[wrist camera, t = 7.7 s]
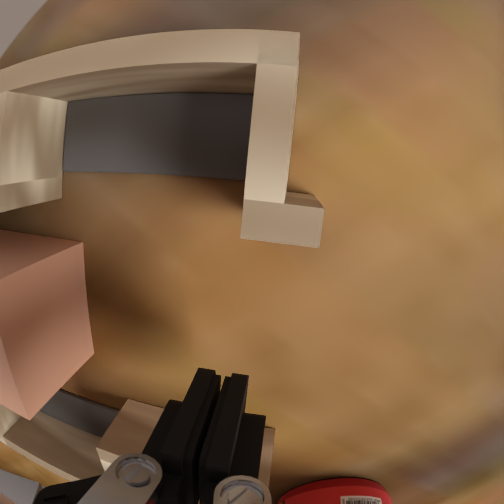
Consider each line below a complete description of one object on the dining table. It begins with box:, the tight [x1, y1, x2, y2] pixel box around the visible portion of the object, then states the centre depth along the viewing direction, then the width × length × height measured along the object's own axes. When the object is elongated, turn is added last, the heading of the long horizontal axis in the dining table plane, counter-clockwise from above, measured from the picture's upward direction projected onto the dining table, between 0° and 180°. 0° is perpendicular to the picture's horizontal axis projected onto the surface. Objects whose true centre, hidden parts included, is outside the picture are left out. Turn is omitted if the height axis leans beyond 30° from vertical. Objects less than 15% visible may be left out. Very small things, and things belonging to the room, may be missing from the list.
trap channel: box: [0, 29, 324, 489], centre depth 12 cm, size 22×19×4 cm
